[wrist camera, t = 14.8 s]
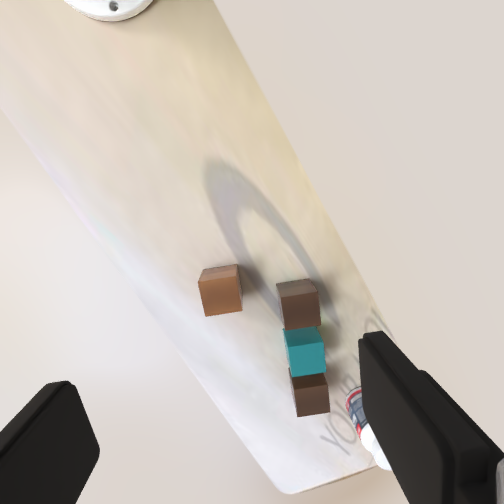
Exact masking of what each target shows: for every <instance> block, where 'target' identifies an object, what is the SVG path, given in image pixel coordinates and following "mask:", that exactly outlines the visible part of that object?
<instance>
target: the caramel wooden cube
mask: <svg viewBox="0 0 504 504" xmlns="http://www.w3.org/2000/svg"><path fill="white" fill-rule="evenodd" d="M198 286H199V290H200V295H201V299H202V304H203V308H204V312H205V316H206V317H207V316H213V315H219V314H225V313H232V312H238V311H242V298H243V295H242V290H241V284H240V279H239V273H238V268H237V264H236V265H229V266H223V267H217V268H211V269H205V270H203V271H202V274H201V276H200V278H199V281H198Z"/></svg>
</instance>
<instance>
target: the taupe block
mask: <svg viewBox="0 0 504 504" xmlns="http://www.w3.org/2000/svg"><path fill="white" fill-rule="evenodd" d="M276 286H277V293H278V300H279V307H280V314H281V317H282V321H283V325H284V328H285V331H287V330H294V329H300V328H306V327H313V326H319V325H321V317H320V307H319V297H318V291H317V290H316V288H315V287H314V285H313V284H312V282H311V281H310V279H304V280H297V281H291V282H285V283H279V284H276Z"/></svg>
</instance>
